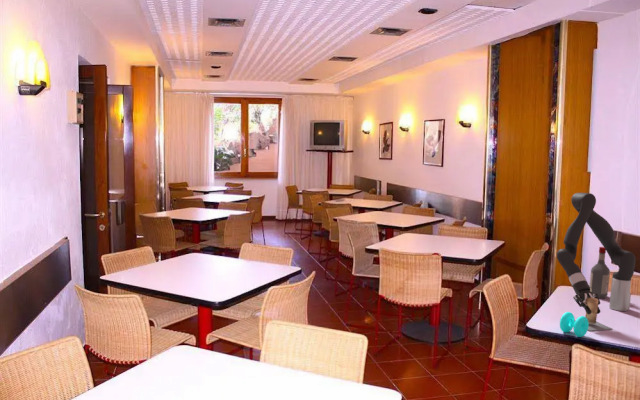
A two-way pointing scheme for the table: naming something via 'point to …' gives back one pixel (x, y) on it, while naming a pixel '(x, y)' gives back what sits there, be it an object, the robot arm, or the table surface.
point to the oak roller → (592, 310)
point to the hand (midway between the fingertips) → (594, 313)
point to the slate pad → (597, 327)
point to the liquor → (600, 276)
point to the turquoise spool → (574, 324)
